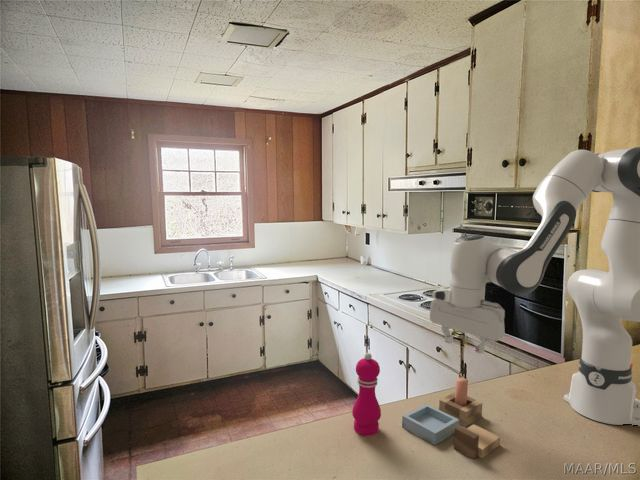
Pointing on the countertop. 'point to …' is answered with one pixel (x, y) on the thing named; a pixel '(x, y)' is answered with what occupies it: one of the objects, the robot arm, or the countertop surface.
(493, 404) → the countertop surface
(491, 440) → the tan wooden cuboid
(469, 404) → the socket block
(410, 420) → the tray
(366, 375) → the pepper mill
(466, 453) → the block
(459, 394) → the dowel
